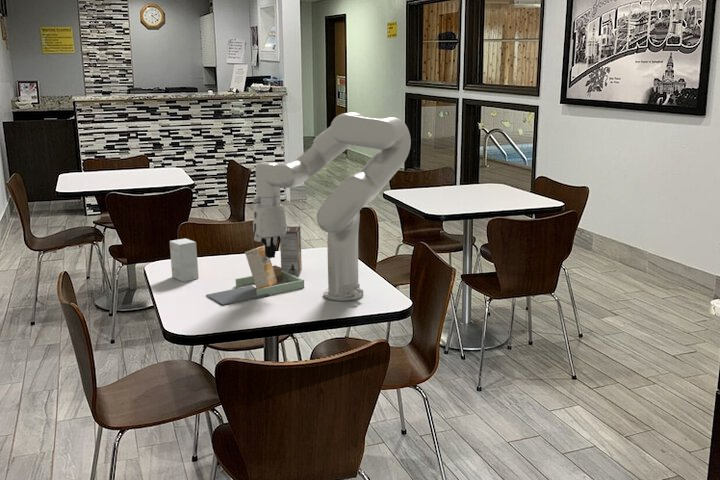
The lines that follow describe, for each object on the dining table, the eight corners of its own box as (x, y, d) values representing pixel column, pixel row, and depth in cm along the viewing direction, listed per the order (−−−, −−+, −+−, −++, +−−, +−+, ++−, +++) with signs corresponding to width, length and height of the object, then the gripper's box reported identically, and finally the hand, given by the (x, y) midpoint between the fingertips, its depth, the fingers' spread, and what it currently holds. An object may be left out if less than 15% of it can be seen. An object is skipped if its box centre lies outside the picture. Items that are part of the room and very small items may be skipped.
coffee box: (284, 270, 256) (282, 226, 252) (302, 269, 255) (300, 226, 252) (281, 277, 247) (279, 231, 243) (299, 277, 246) (298, 231, 243)
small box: (199, 278, 246) (196, 241, 243) (182, 282, 242) (179, 244, 239) (188, 273, 252) (185, 237, 249) (171, 277, 248) (168, 240, 245)
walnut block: (281, 282, 241) (281, 267, 240) (271, 284, 239) (270, 269, 238) (276, 279, 244) (275, 265, 243) (265, 281, 242) (265, 267, 241)
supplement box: (270, 287, 228) (257, 248, 227) (256, 291, 229) (244, 252, 228) (278, 282, 236) (266, 244, 235) (265, 285, 237) (253, 248, 236)
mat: (269, 295, 226) (268, 294, 226) (222, 305, 217) (222, 304, 217) (251, 287, 235) (251, 285, 235) (206, 296, 226) (206, 294, 226)
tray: (304, 287, 234) (303, 280, 234) (257, 297, 225) (257, 289, 224) (281, 277, 246) (280, 270, 246) (235, 286, 237) (235, 278, 236)
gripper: (252, 205, 219) (255, 263, 224) (294, 200, 228) (296, 256, 232) (241, 201, 225) (244, 258, 230) (283, 197, 234) (284, 251, 238)
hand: (270, 256), depth 231 cm, fingers closed
